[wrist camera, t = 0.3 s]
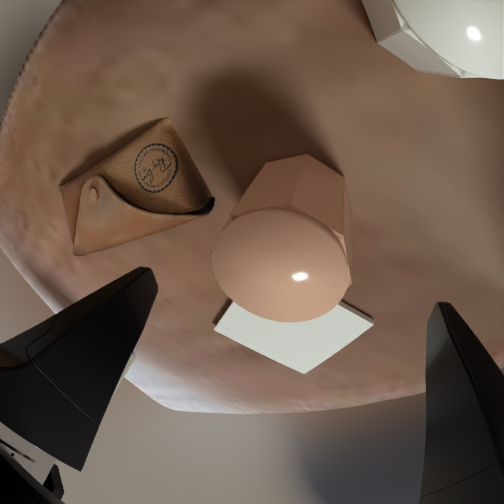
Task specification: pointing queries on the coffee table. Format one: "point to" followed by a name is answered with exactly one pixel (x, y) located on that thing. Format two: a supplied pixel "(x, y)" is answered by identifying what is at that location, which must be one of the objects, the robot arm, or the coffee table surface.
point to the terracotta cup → (288, 242)
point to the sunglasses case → (135, 192)
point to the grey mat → (295, 334)
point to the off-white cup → (442, 35)
